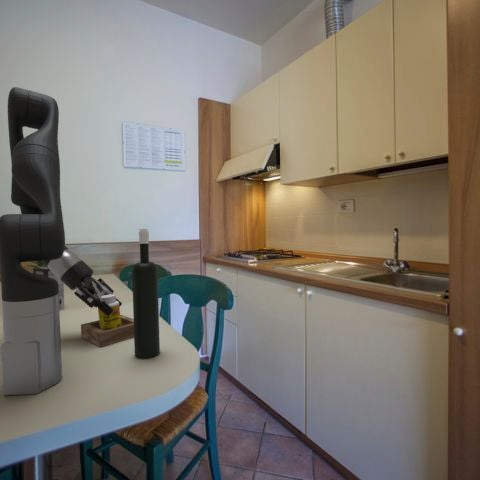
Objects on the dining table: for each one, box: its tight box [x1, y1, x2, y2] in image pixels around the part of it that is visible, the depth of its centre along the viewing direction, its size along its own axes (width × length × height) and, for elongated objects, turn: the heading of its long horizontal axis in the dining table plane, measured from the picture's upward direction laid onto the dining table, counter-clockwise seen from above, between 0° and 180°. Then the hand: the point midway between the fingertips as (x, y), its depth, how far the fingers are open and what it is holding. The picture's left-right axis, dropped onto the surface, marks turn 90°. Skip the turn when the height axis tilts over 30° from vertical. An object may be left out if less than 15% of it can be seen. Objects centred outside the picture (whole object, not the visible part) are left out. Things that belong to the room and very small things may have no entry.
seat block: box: [80, 314, 134, 348], centre depth 87 cm, size 12×12×4 cm
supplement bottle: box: [97, 293, 121, 331], centre depth 87 cm, size 6×6×10 cm
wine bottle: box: [131, 228, 161, 360], centre depth 73 cm, size 6×6×30 cm
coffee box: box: [32, 266, 65, 311], centre depth 117 cm, size 9×6×16 cm
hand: (115, 309), depth 87 cm, fingers open, 6 cm apart
